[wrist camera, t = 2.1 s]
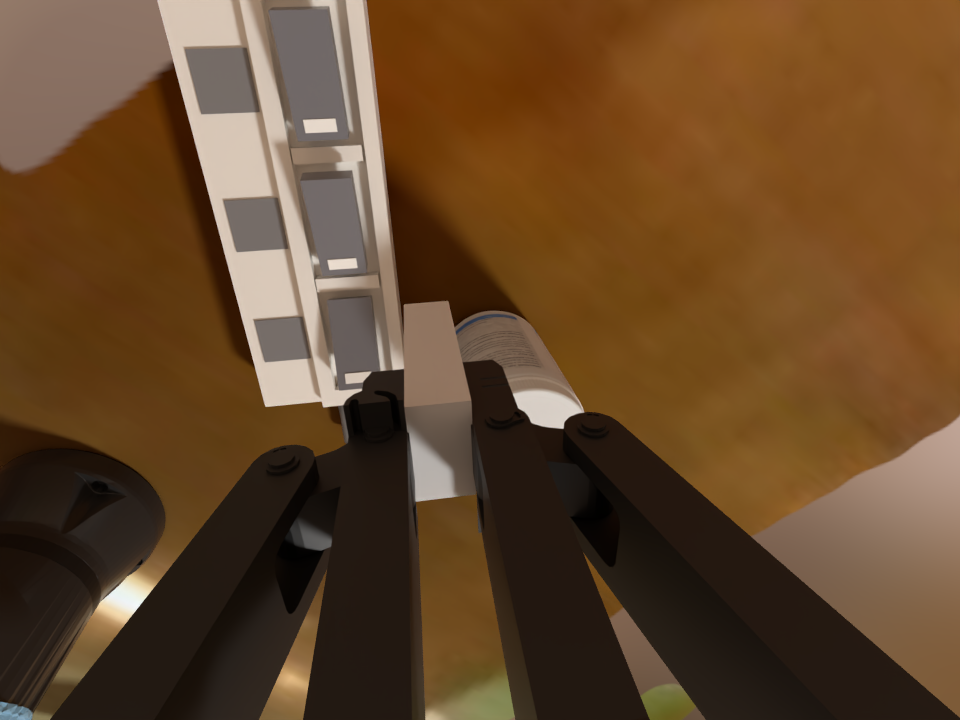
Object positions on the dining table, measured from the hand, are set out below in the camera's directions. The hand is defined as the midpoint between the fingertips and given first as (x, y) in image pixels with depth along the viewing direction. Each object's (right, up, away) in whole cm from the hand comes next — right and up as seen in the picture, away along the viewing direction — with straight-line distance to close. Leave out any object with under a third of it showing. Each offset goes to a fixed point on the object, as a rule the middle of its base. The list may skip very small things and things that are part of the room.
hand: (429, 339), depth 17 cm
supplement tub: (+3, 0, +31) cm, 31 cm away
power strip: (-11, +8, +24) cm, 28 cm away
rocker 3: (-8, +1, +22) cm, 23 cm away
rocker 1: (-9, +17, +14) cm, 23 cm away
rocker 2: (-8, +9, +18) cm, 21 cm away
